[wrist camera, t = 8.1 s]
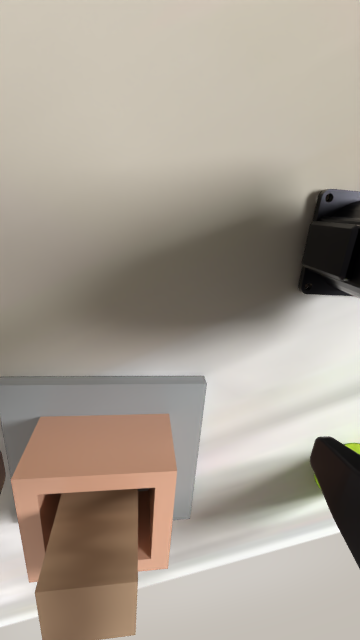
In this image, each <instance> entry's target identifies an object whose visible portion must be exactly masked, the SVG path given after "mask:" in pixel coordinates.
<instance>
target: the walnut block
mask: <svg viewBox="0 0 360 640" xmlns="http://www.w3.org/2000/svg"><path fill="white" fill-rule="evenodd" d="M137 586H138V489H122V490H106V491H89V492H72V493H62V494H61V497H60V501H59V505H58V508H57V512H56V516H55V520H54V523H53V527H52V531H51V534H50V538H49V542H48V545H47V549H46V553H45V557H44V560H43V564H42V568H41V571H40V575H39V579H38V582H37V586H36V590H35V597H36V603H37V609H38V615H39V621H40V627H41V634H42V640H101V639H108V638H116V637H124V636H131V635H135V632H136V609H137V607H136V606H137Z"/></svg>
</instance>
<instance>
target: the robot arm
mask: <svg viewBox="0 0 360 640" xmlns="http://www.w3.org/2000/svg"><path fill="white" fill-rule="evenodd" d="M326 195H329V200H328V201H327V202H326V200H325V198H326ZM302 264H303V267H302V271H301V276H300V280H299V285H298V288H299V290H300V291H301V292H302V293H304V294H318V295H344V296H356V297H358V298H360V192H358V191H348V190H337V189H326V190H323V191H322V192H321V193H320V194H319V196H318V200H317V204H316V209H315V213H314V218H313V222H312V224H311V225H310V228H309V232H308V237H307V241H306V246H305V250H304V255H303V259H302ZM307 283H309V286H308V288H306V289H305V285H306V284H307ZM310 462H311V466H312V469H313V471H314V473H315V476H316V478H317V481H318V483H319V485H320V488H321V490H322V493H323V495H324V497H325V500H326V502H327V505H328V507H329V509H330V512H331V514H332V516H333V518H334V520H335V522H336V524H337V526H338V528H339V530H340V532H341V534H342V536H343V537H344V539H345V542H346V543H347V545H348V547H349V549H350V551H351V553H352V555H353V557H354V559H355V561H356V563H357V564H358V566H359V568H360V454H358V453H356V452H355V451H353V450H352V449H350V448H348V447H347V446H345V445H343V444H342V443H340V442H339V441H337V440H335V439H334V438H332V437H318V438H317V439H316V440H315V443H314V446H313V449H312V453H311V456H310ZM4 481H5V468H4V462H3V457H2V453H1V451H0V494H1V491H2V488H3V484H4Z"/></svg>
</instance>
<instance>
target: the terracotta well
mask: <svg viewBox="0 0 360 640" xmlns="http://www.w3.org/2000/svg"><path fill="white" fill-rule="evenodd" d="M206 386H207V383H206V380H205V377H204V376H103V377H1V378H0V419H1V424H2V430H3V436H4V441H5V447H6V452H7V458H8V464H9V469H10V475H11V484H12V490H13V495H14V501H15V506H16V512H17V517H18V523H19V529H20V534H21V540H22V545H23V551H24V557H25V562H26V568H27V573H28V579H29V582H38V579H39V575H40V571H41V568H42V564H43V560H44V557H45V553H46V549H47V545H48V542H49V538H50V534H51V531H52V527H53V523H54V520H55V516H56V512H57V508H58V505H59V501H60V497H61V494H62V493H72V492H89V491H106V490H122V489H138V571H148V570H158V569H168V563H169V552H170V541H171V531H172V520H181V519H190V514H191V506H192V498H193V490H194V482H195V474H196V466H197V458H198V450H199V442H200V434H201V426H202V418H203V410H204V402H205V394H206Z"/></svg>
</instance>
